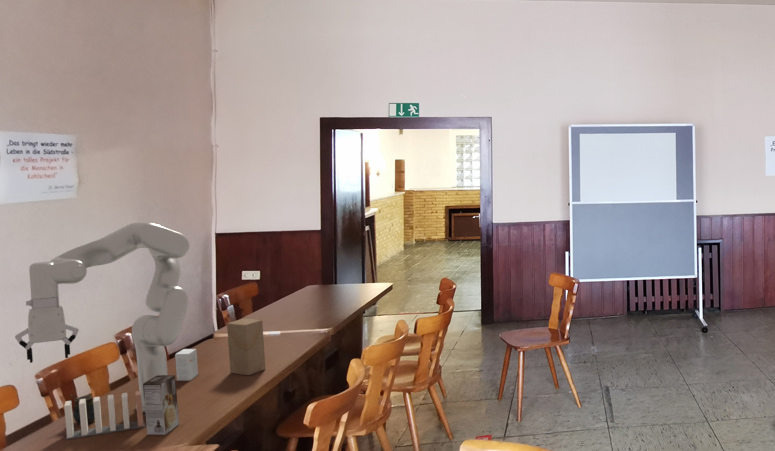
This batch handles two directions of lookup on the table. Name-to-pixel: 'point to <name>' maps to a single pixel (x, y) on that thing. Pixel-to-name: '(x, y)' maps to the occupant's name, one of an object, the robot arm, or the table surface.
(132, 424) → the mat
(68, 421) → the domino
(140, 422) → the domino
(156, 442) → the table surface
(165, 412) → the coffee box
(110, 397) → the domino
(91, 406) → the mate gourd
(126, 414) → the domino
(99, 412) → the domino
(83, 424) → the domino
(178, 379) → the small box
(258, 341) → the wooden block
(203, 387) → the table surface
